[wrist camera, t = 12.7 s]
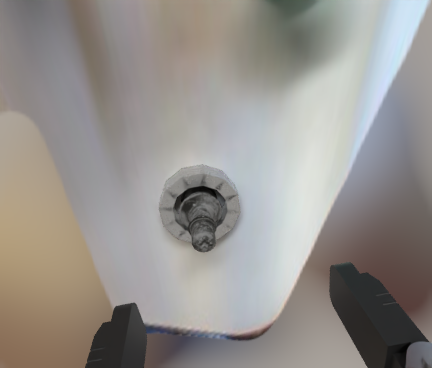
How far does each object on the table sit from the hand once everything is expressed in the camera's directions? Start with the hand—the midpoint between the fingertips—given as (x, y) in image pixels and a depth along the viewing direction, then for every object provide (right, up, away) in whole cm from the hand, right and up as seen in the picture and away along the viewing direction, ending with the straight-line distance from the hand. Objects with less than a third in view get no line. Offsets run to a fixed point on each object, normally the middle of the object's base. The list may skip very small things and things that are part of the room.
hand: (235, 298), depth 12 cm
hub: (-3, +2, +32) cm, 32 cm away
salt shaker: (-3, +2, +32) cm, 33 cm away
